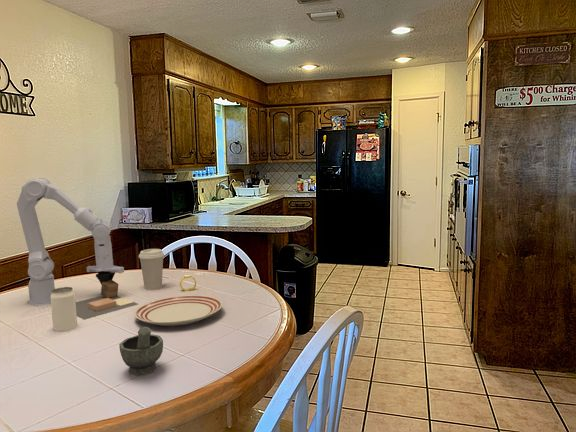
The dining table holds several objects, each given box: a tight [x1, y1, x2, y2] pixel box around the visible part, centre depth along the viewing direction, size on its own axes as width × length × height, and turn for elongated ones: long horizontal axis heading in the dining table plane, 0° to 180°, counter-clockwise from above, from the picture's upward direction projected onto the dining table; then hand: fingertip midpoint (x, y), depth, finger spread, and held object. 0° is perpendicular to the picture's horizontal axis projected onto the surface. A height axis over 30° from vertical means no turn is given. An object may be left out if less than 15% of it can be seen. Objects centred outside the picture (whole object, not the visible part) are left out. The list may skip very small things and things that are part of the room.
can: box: [50, 286, 78, 332], centre depth 132 cm, size 6×6×12 cm
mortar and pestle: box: [118, 326, 164, 377], centre depth 104 cm, size 11×9×12 cm
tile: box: [88, 298, 117, 311], centre depth 150 cm, size 2×7×6 cm
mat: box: [75, 295, 139, 320], centre depth 152 cm, size 20×19×1 cm
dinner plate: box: [133, 294, 223, 327], centre depth 141 cm, size 27×27×3 cm
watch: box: [179, 274, 197, 292], centre depth 169 cm, size 6×3×6 cm, turn 108°
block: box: [100, 279, 119, 299], centre depth 161 cm, size 4×4×5 cm
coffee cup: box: [138, 248, 165, 291], centre depth 172 cm, size 10×10×15 cm
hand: (107, 291), depth 163 cm, fingers closed, pressing on block
